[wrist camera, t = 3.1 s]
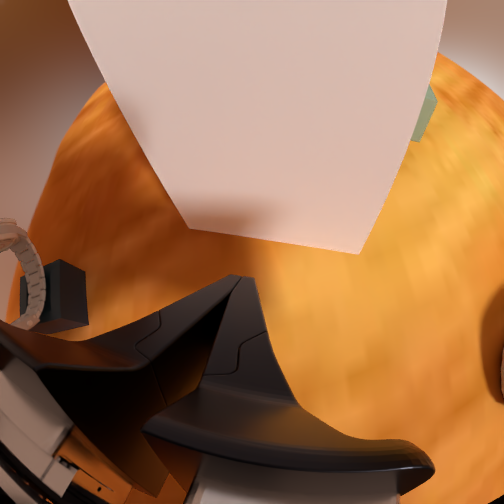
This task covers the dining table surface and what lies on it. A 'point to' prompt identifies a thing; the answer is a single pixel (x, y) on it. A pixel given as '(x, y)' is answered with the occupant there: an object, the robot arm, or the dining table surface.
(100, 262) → the dining table surface
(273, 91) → the milk
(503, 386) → the sea urchin shell
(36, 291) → the watch
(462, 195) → the dining table surface
